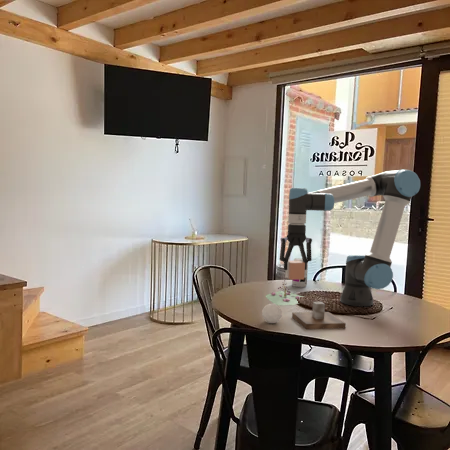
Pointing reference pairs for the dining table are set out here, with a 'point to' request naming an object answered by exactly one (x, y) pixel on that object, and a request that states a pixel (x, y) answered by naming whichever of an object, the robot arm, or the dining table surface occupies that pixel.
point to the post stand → (318, 318)
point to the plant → (283, 297)
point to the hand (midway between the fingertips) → (294, 277)
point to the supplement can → (300, 281)
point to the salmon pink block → (296, 270)
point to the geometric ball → (271, 313)
